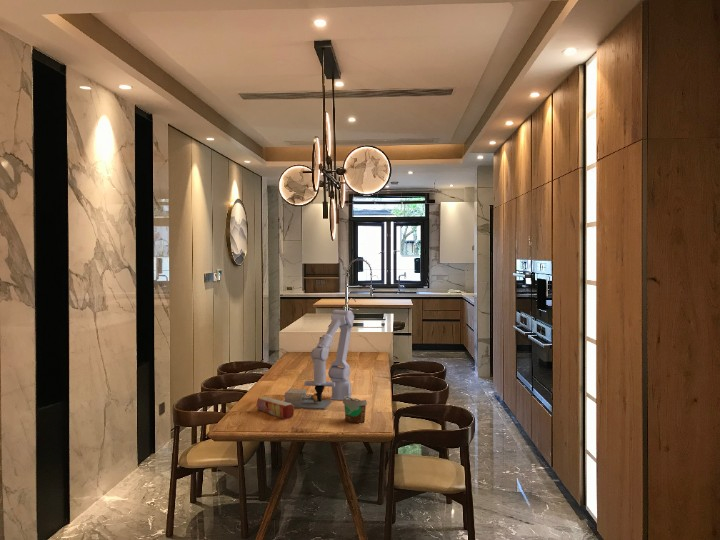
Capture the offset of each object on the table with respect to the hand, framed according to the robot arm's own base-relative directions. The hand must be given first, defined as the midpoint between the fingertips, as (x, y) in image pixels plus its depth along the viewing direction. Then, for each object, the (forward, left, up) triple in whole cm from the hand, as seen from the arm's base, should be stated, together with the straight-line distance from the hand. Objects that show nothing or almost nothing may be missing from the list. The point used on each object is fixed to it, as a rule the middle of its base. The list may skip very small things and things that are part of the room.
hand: (319, 401), depth 265 cm
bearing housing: (+12, 0, -2) cm, 12 cm away
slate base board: (+7, 0, -2) cm, 7 cm away
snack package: (+16, +18, -2) cm, 24 cm away
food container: (-20, +23, -2) cm, 31 cm away
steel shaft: (+9, 0, -1) cm, 9 cm away
